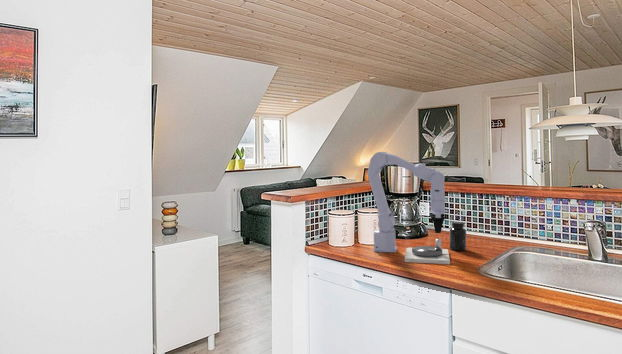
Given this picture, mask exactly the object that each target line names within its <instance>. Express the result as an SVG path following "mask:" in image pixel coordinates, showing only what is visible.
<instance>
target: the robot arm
mask: <svg viewBox="0 0 622 354" xmlns="http://www.w3.org/2000/svg"><path fill="white" fill-rule="evenodd" d="M388 165H396V166H398V167H400V168H402V169H406V170H408V171H410V172H412V175H413V176H414V177H416V178H419V179H420V180H423V181H425V182H429V183H430V210H429V212H430V218H431V221H432V223H433V228H434V233H435V234H441V232H442V229H443V223H444V221H445V220H446V217H445V213H448V212H449V210H447V209H445V207H446V205H445V203H446V200H445V199H446V195H445V194H446V193H445V192H446V191H445V181H446V180H445V178H446V177H445V175H444V173H443V172H441V171H439V170H437V169H436V168H431V167H429V166H426V164H425V163H416V164H415V163H412V162H410V161H408V160H406V159H405V158H402V157H400V156H398V155H397V154H392V153H389V152H388V153H387V152H386V151H377V152H375V153H374V154H373V155H372V157H371V158H370V160H369V165H368V168H367V177H368V182H369V185H370V188H371V191H372V195H373V198H374V202H375V205H376V208H377V209H376V210H377V218H378V222H377V226H378V229H377V230H374V233H373V251H374V252H375V253H376V252H377V253H378V252H379V253H381V252H382V253H396V252H397V251H398V246H396V244H397V242H396V239H397V238H396V228H395V227H394V226H395V225H396V223H397V222H396V218H395V216H394V215H393V213H392V211H391V209H390V207H389V204H388V201H387V196H386V194H385V190H384V187H383V183H382V180H381V176H380V175H381V174H380V173H381V172H382V170H383V168H385V167H386V166H388Z"/></svg>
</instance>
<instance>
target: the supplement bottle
mask: <svg viewBox="0 0 622 354" xmlns="http://www.w3.org/2000/svg"><path fill="white" fill-rule="evenodd" d="M464 225H465V223H464V222H463V221H452V222H451V228H450V229H449V250H451V251H454V252H455V251H456V252H463V251H464V252H465V251H466V250H467V230H466V228H464V227H465V226H464Z"/></svg>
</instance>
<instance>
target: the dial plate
mask: <svg viewBox="0 0 622 354" xmlns="http://www.w3.org/2000/svg"><path fill="white" fill-rule="evenodd" d="M412 248H413V247H406V251H405V255H404V262H405V263H419V264H421V263H422V264H437V265H439V264H440V265H451V260H450V259H451V258H450V254H449V249H448V248H441V249H442V255H440V256H436V257H423V256H417V255H414V254H413V253H412Z"/></svg>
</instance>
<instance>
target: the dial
mask: <svg viewBox="0 0 622 354" xmlns="http://www.w3.org/2000/svg"><path fill="white" fill-rule="evenodd" d="M434 241H435V242H434V243H435V245H434V246H432V245H418V246H413V247H411V248H412V253H413V254H414V255H417V256H423V257H436V256H440V255H442V249H443V248H442V239H441V238H435V239H434Z"/></svg>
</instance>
